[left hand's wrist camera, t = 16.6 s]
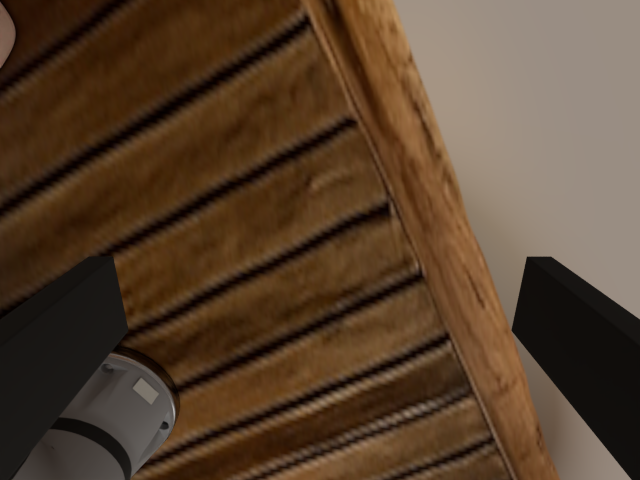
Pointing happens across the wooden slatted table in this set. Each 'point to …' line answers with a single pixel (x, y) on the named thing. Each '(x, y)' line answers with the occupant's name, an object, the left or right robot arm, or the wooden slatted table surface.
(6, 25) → the anatomical model
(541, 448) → the wooden slatted table surface
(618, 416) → the left robot arm
